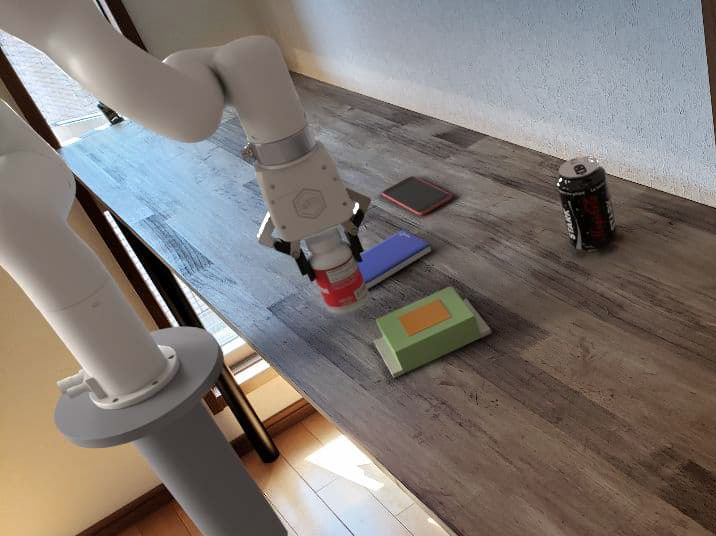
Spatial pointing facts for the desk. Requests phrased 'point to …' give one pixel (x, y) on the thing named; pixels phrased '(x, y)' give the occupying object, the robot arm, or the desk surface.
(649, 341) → the desk surface
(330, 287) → the pill bottle
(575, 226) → the beverage can
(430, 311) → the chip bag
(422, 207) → the smartphone
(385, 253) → the hard drive
